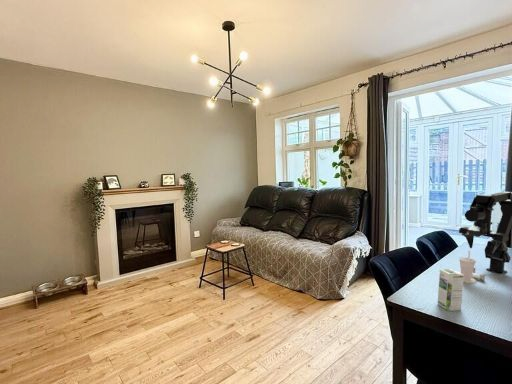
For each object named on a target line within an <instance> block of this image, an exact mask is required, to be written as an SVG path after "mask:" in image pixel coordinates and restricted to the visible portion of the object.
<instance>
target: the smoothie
mask: <svg viewBox="0 0 512 384" xmlns="http://www.w3.org/2000/svg"><path fill="white" fill-rule="evenodd" d="M467 254H468V255H467V257H459V259H458V261H459V266H460V273H461V274H464V280H471V277H472V273H473V269H474V268H475V264H476V262H477V260H475V259H473V258H470V257H471V256H470V255H471V250H468V252H467Z"/></svg>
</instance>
